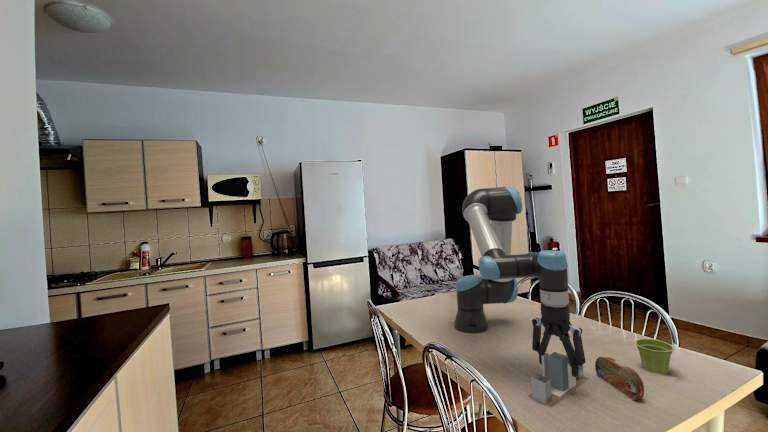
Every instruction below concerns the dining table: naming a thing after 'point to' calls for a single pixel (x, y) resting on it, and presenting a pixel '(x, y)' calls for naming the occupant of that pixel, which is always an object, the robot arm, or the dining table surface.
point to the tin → (620, 377)
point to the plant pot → (655, 355)
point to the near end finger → (541, 388)
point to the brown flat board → (562, 392)
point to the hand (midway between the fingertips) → (558, 380)
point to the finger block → (558, 371)
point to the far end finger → (581, 373)
